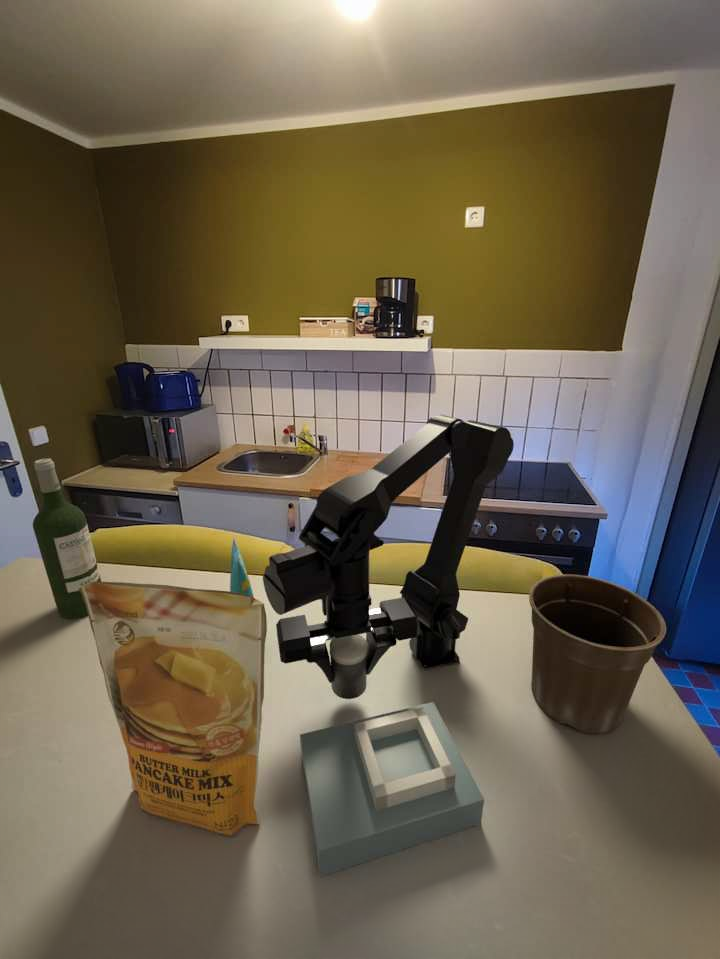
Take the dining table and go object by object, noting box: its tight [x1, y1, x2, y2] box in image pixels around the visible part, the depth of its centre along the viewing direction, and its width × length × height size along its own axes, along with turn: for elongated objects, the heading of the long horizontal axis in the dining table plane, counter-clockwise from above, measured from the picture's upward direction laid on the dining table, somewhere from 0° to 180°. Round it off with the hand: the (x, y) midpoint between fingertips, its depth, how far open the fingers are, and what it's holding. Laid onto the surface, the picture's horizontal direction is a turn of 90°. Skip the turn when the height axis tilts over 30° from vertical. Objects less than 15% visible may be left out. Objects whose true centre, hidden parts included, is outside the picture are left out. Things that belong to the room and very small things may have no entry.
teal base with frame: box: [299, 701, 485, 878], centre depth 50 cm, size 18×13×6 cm
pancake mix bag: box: [79, 581, 268, 837], centre depth 45 cm, size 7×19×28 cm, turn 76°
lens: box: [329, 634, 367, 700], centre depth 60 cm, size 5×5×7 cm
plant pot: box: [528, 573, 667, 735], centre depth 60 cm, size 16×16×16 cm
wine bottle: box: [32, 458, 102, 620], centre depth 79 cm, size 8×8×30 cm
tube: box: [229, 537, 255, 598], centre depth 70 cm, size 7×5×19 cm, turn 27°
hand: (348, 676), depth 61 cm, fingers closed on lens, 5 cm apart
